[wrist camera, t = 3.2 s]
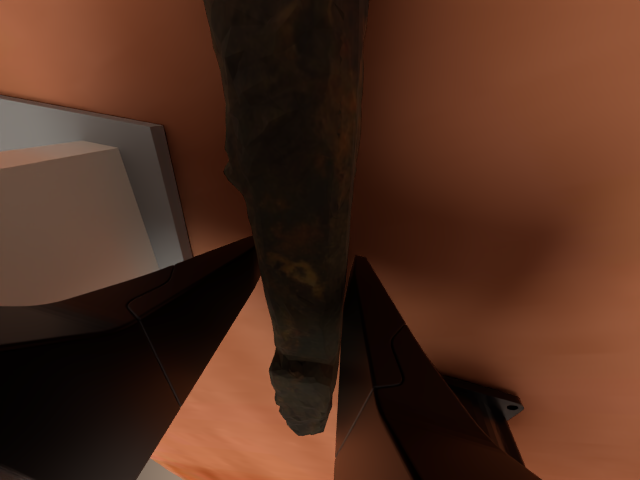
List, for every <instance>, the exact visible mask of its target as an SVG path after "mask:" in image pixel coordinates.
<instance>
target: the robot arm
mask: <svg viewBox="0 0 640 480" xmlns="http://www.w3.org/2000/svg"><path fill="white" fill-rule="evenodd" d="M260 276H261V273H260V269H259V264H258V257H257V251H256V247H255V243H254V239H253V235H252V236H249V237H247V238H244V239H241V240H239V241H236V242H233V243H231V244H228V245H225V246H223V247H220V248H217V249H214V250H212V251H209V252H206V253H204V254H201V255H198V256H195V257H193V258H190V259H187V260H185V261H182V262H179V263H177V264H175V266H174V265H171V266H168V267H166V268H163V269H160V270H157V271H155V272H152V273H149V274H146V275H143V276H140V277H137V278H134V279H131V280H128V281H124V282H121V283H118V284H115V285H111V286H108V287H105V288H102V289H98V290H95V291H92V292H89V293H85V294H82V295H79V296H76V297H72V298H69V299H65V300H62V301H58V302H53V303H48V304H42V305H33V306H0V480H136V479H137V478H138V476H139V474H140V473H141V471H142V470H143V468H144V466H145V465H146V463H147V461H148V460H149V458H150V457H151V455H152V453H153V452H154V450H155V449H156V447H157V445H158V444H159V442H160V440H161V439H162V437H163V436H164V434H165V432H166V431H167V429H168V428H169V426H170V424H171V423H172V421H173V419H174V418H175V416H176V415H177V413H178V411H179V410H180V407H181V406H182V405H183V403H184V401H185V400H186V398H187V397H188V395H189V393H190V392H191V390H192V389H193V387H194V385H195V384H196V382H197V380H198V379H199V377H200V376H201V374H202V372H203V371H204V369H205V368H206V366H207V364H208V363H209V361H210V359H211V358H212V356H213V355H214V353H215V351H216V350H217V348H218V347H219V345H220V343H221V342H222V340H223V338H224V337H225V335H226V334H227V332H228V330H229V329H230V327H231V326H232V324H233V322H234V321H235V319H236V317H237V316H238V314H239V313H240V311H241V309H242V308H243V306H244V305H245V303H246V301H247V300H248V298H249V296H250V295H251V293H252V292H253V290H254V288H255V286H256V284H257V282H258V280H259V278H260ZM523 409H524V407H523V405H522V403H521V400H520V398H519V397H517V396H515V395H512V394H508V393H504V392H501V391H497V390H494V389H490V388H486V387H483V386H479V385H475V384H472V383H468V382H465V381H461V380H457V379H454V378H450V377H447V376H443V375H440V374H439V373H438V371H437V370H436V368H435V367H434V366H433V364H432V363H431V361H430V360H429V359H428V357H427V356H426V354H425V353H424V352H423V350H422V348H421V347H420V345H419V344H418V342H417V341H416V339H415V338H414V336H413V334H412V333H411V331H410V329H409V328H408V326H407V325H406V323H405V321H404V320H403V318H402V316H401V315H400V313H399V311H398V310H397V308H396V306H395V305H394V303H393V301H392V300H391V298H390V296H389V295H388V293H387V292H386V290H385V288H384V287H383V285H382V283H381V282H380V280H379V278H378V277H377V275H376V273H375V272H374V270H373V268H372V267H371V265H370V263H369V262H368V260H367V258H366V257H363V256H359V255H355V257H354V260H353V264H352V267H351V271H350V275H349V280H348V286H347V291H346V296H345V302H344V308H343V318H342V337H341V355H340V374H339V393H338V412H337V431H336V450H335V458H336V459H335V467H334V480H542V479H540V478H539V477H538V476H536V475H535V474H534V473H532V472H531V471H530V470H528V469H527V468H526V467H525V464H524V462H523V459H522V457H521V454H520V452H519V449H518V447H517V445H516V442H515V440H514V437H513V435H512V432H511V430H510V427H509V425H508V423H507V421H508V420H509V419H511V418H512V417H514V416H515V415H516V414H518V413H519V412H521V411H522V410H523Z"/></svg>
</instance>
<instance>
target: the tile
mask: <svg viewBox="0 0 640 480" xmlns="http://www.w3.org/2000/svg"><path fill="white" fill-rule="evenodd" d="M157 270H159V267H158V264H157V261H156V258H155V255H154V252H153V249H152V246H151V243H150V240H149V237H148V235H147V232H146V229H145V226H144V223H143V220H142V217H141V214H140V211H139V208H138V205H137V202H136V199H135V196H134V193H133V190H132V187H131V184H130V181H129V178H128V176H127V173H126V170H125V167H124V164H123V161H122V158H121V155H120V152H119V149H118V148H117V147H112V146H107V145H102V144H97V143H92V142H87V141H76V142H69V143H61V144H54V145H46V146H39V147H31V148H24V149H16V150H9V151H1V152H0V306H33V305H42V304H48V303H53V302H58V301H62V300H65V299H69V298H72V297H76V296H79V295H82V294H85V293H89V292H92V291H95V290H98V289H102V288H105V287H108V286H111V285H115V284H118V283H121V282H124V281H128V280H131V279H134V278H137V277H140V276H143V275H146V274H149V273H152V272H155V271H157Z"/></svg>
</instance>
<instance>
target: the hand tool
mask: <svg viewBox="0 0 640 480" xmlns="http://www.w3.org/2000/svg"><path fill="white" fill-rule="evenodd" d="M203 1H204V5H205V10H206V14H207V18H208V22H209V26H210V30H211V37H212V42H213V48H214V51H215V53H216V57H217V60H218V64H219V67H220V71H221V77H222V83H223V89H224V96H225V102H226V119H225V121H226V141H225V150H226V152H227V154H228V157H229V162H228V163H227V165H226V166H225V169H224V174H225V175H226V177H227V179H228V180H229V181H230V182H231V183H232V184H233V185H234V186H235V187H236V188H237V189H238V190H239V191H240V192H241V193H242V194H243V196H244V199H245V201H246V205H247V212H248V218H249V221H250V224H251V227H252V234H253V239H254V243H255V247H256V251H257V257H258V264H259V269H260V273H261V277H262V282H263V287H264V293H265V297H266V301H267V305H268V309H269V313H270V316H271V320H272V325H273V331H274V342H275V346H276V350H275V355H274V357H273V360H272V363H271V365H270V368H269V374H270V379H271V384H272V386H273V388H274V389H275V391H276V392H275V401H276V404H277V405H279V406H280V409H279V412H280V414H281V415H282V416H283V418H284V419H285V420H286V422H287V425H288V426H289V427H290V428H291V429H292V430H293V431H294V432H295V433H296V434H297V435H298V436H305V435H309V434H310V435H314V434H317V433H321V432H323V431H324V429H325V425H326V422H327V419H328V416H329V413H330V410H331V408H332V395H333V391H334V388H335V385H336V379H337V372H338V365H339V350H340V343H341V342H340V339H341V333H342V318H343V303H344V293H345V283H346V271H347V261H348V249H349V236H350V217H351V205H352V199H353V184H354V177H355V173H356V160H357V155H358V149H359V144H360V133H361V100H362V93H363V76H364V65H363V43H364V36H365V32H366V28H367V17H368V7H369V0H203Z"/></svg>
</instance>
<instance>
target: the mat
mask: <svg viewBox="0 0 640 480" xmlns="http://www.w3.org/2000/svg"><path fill="white" fill-rule="evenodd" d="M76 141H87V142H92V143H97V144H102V145H107V146H112V147H117V148H118V149H119V152H120V155H121V158H122V161H123V164H124V167H125V170H126V173H127V176H128V178H129V181H130V184H131V187H132V190H133V193H134V196H135V199H136V202H137V205H138V208H139V211H140V214H141V217H142V220H143V223H144V226H145V229H146V232H147V235H148V237H149V240H150V243H151V246H152V249H153V252H154V255H155V258H156V261H157V264H158V267H159V270H160V269H163V268H166V267H168V266H171V265H174V266H175V264H177V263H179V262H182V261H185V260H187V259H190V258H193V257H192V252H191V248H190V244H189V239H188V235H187V230H186V226H185V221H184V217H183V212H182V208H181V203H180V199H179V195H178V190H177V186H176V181H175V177H174V172H173V168H172V163H171V159H170V154H169V150H168V146H167V141H166V137H165V132H164V128H163V125H159V124H153V123H148V122H143V121H137V120H132V119H126V118H121V117H116V116H110V115H105V114H100V113H94V112H89V111H84V110H78V109H73V108H67V107H62V106H57V105H51V104H46V103H41V102H35V101H30V100H25V99H19V98H14V97H8V96H3V95H0V152H1V151H9V150H16V149H24V148H31V147H39V146H46V145H54V144H61V143H69V142H76Z"/></svg>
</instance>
